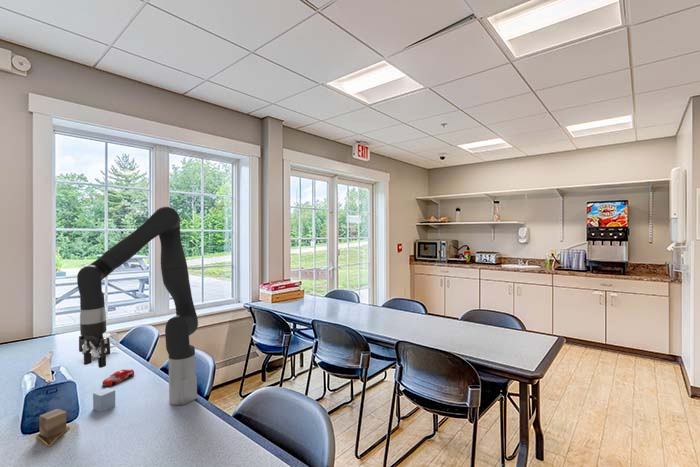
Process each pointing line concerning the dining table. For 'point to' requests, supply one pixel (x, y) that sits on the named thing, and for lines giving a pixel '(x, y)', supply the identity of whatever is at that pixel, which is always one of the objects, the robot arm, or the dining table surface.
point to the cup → (109, 341)
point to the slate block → (104, 399)
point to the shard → (52, 439)
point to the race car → (118, 377)
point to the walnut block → (52, 423)
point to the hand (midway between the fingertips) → (94, 365)
